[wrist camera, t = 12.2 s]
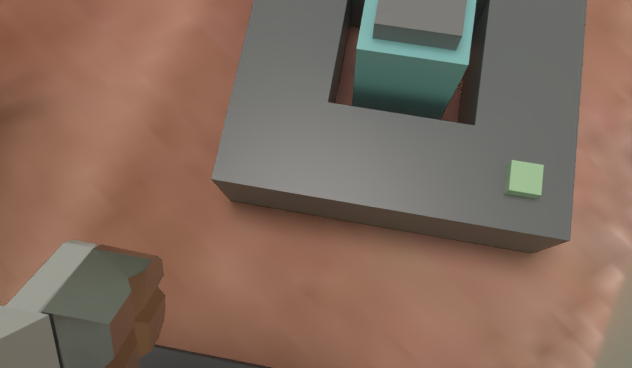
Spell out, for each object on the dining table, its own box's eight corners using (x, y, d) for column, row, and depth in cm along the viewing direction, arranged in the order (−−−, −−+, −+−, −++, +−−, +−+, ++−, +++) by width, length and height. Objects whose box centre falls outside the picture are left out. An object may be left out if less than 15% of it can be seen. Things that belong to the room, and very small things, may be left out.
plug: (351, 119, 26) (357, 34, 18) (364, 45, 27) (375, -65, 19) (433, 132, 26) (475, 51, 18) (443, 57, 26) (487, -51, 19)
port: (230, 200, 25) (207, 175, 21) (287, -53, 28) (279, -122, 24) (532, 253, 24) (577, 238, 19) (555, -17, 27) (598, -82, 23)
